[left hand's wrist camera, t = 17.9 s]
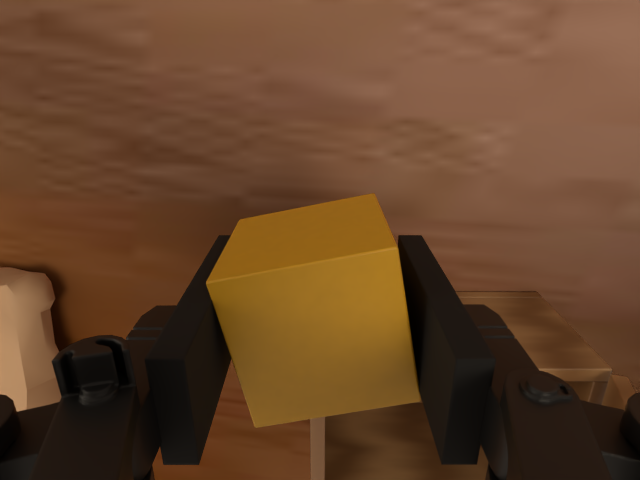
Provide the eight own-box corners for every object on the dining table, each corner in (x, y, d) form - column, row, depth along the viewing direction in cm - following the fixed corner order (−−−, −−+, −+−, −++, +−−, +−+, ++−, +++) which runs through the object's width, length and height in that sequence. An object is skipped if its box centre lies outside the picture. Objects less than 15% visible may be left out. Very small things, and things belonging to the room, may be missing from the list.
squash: (8, 459, 39) (-102, 551, 30) (-16, 246, 34) (-155, 282, 25) (118, 483, 37) (35, 586, 29) (110, 263, 33) (7, 308, 24)
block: (272, 333, 16) (254, 428, 12) (238, 219, 14) (204, 282, 10) (394, 311, 16) (421, 402, 11) (374, 192, 14) (398, 246, 10)
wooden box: (313, 403, 36) (310, 503, 28) (312, 291, 33) (309, 368, 24) (513, 403, 36) (572, 504, 28) (537, 291, 33) (613, 369, 24)
